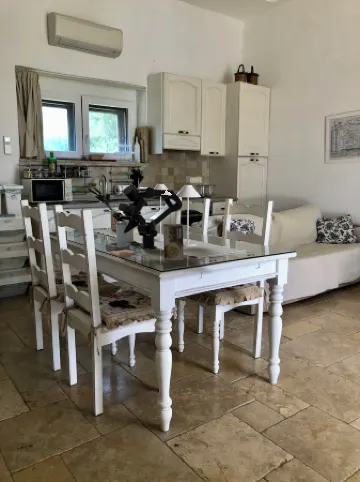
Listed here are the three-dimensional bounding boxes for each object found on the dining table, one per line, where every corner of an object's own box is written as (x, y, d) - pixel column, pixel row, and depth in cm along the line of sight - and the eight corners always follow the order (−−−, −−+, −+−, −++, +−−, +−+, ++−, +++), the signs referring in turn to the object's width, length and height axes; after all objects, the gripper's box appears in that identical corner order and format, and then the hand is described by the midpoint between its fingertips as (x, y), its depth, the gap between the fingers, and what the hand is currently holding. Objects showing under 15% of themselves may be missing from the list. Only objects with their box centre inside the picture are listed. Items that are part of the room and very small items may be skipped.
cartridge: (128, 245, 203) (128, 221, 201) (124, 247, 199) (123, 223, 196) (119, 245, 205) (118, 221, 202) (115, 247, 200) (114, 222, 198)
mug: (130, 239, 240) (130, 219, 237) (135, 241, 234) (135, 220, 232) (114, 241, 234) (114, 220, 232) (119, 243, 229) (118, 221, 226)
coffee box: (183, 257, 194) (182, 223, 191) (183, 260, 188) (183, 225, 185) (163, 257, 194) (163, 223, 191) (163, 260, 188) (163, 225, 184)
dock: (140, 253, 204) (140, 247, 203) (119, 256, 196) (118, 250, 195) (120, 247, 218) (120, 241, 218) (99, 250, 210) (99, 244, 210)
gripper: (114, 196, 206) (98, 220, 200) (141, 197, 195) (125, 223, 188) (126, 210, 214) (111, 234, 208) (152, 212, 202) (137, 238, 196)
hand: (120, 232), depth 200 cm, fingers closed on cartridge, 5 cm apart
